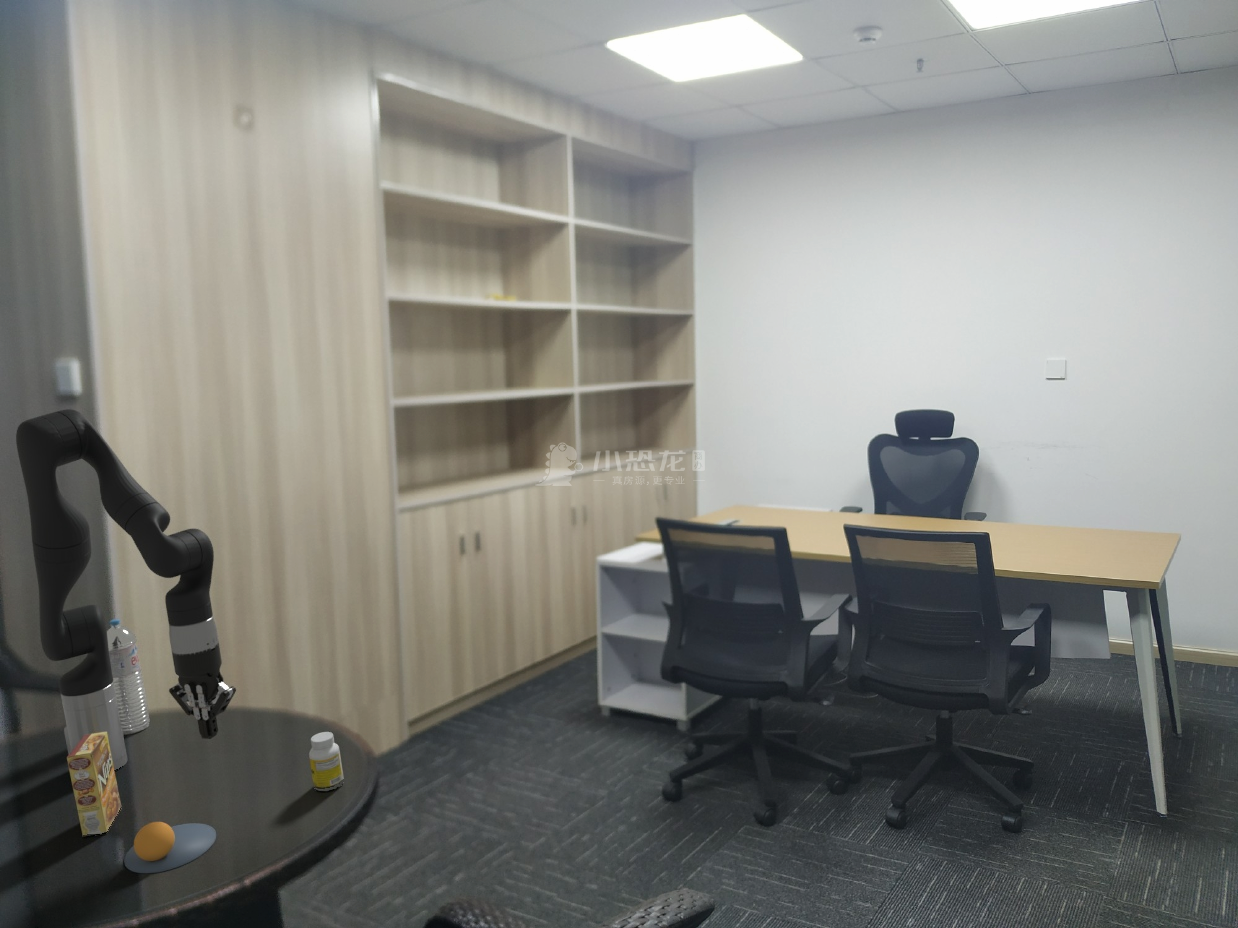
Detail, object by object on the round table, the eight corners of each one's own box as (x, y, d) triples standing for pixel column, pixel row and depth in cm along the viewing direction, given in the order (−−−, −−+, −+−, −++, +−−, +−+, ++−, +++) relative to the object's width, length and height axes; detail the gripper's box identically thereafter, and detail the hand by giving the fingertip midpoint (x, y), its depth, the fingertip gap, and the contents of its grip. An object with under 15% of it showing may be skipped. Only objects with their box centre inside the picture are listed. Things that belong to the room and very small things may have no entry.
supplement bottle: (317, 779, 174) (310, 731, 172) (346, 776, 174) (340, 728, 172) (310, 794, 168) (303, 744, 167) (340, 791, 169) (334, 741, 167)
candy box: (107, 834, 160) (92, 752, 157) (81, 838, 159) (65, 756, 157) (122, 808, 169) (108, 730, 166) (97, 812, 168) (82, 734, 165)
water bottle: (136, 736, 199) (116, 625, 194) (108, 735, 200) (88, 625, 196) (157, 721, 205) (139, 614, 201) (131, 721, 207) (112, 614, 202)
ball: (118, 848, 149) (141, 812, 152) (143, 861, 153) (164, 826, 156) (143, 856, 146) (165, 820, 149) (167, 870, 150) (189, 833, 154)
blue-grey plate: (104, 867, 150) (104, 866, 150) (169, 820, 163) (169, 819, 163) (173, 877, 146) (173, 876, 146) (234, 828, 159) (234, 827, 159)
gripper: (148, 650, 159) (163, 743, 162) (210, 654, 155) (225, 749, 158) (180, 634, 166) (194, 724, 169) (241, 637, 162) (255, 729, 165)
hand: (209, 736), depth 163 cm, fingers closed
